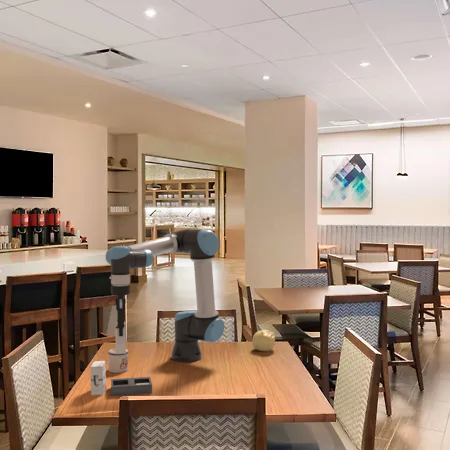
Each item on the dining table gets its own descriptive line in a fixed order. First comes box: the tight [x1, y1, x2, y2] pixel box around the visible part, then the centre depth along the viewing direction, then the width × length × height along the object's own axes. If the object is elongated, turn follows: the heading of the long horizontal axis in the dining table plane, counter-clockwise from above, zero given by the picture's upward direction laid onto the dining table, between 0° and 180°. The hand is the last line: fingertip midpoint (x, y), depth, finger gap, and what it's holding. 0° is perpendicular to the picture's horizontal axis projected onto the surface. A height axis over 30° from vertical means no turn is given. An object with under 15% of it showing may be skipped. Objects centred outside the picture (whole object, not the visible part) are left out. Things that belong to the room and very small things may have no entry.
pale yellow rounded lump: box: [252, 329, 276, 352], centre depth 278 cm, size 12×12×11 cm
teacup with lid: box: [107, 346, 129, 374], centre depth 244 cm, size 12×9×12 cm
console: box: [110, 376, 153, 397], centre depth 214 cm, size 16×10×4 cm, turn 102°
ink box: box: [90, 360, 107, 396], centre depth 213 cm, size 9×5×12 cm, turn 5°
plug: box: [115, 321, 127, 354], centre depth 213 cm, size 4×4×14 cm
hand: (120, 342), depth 213 cm, fingers closed on plug, 4 cm apart
